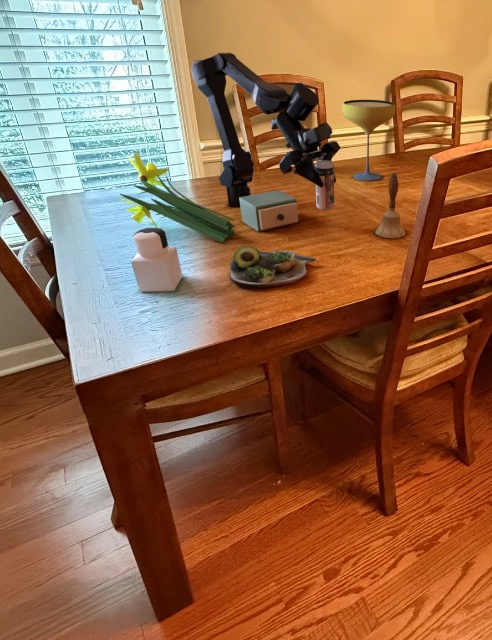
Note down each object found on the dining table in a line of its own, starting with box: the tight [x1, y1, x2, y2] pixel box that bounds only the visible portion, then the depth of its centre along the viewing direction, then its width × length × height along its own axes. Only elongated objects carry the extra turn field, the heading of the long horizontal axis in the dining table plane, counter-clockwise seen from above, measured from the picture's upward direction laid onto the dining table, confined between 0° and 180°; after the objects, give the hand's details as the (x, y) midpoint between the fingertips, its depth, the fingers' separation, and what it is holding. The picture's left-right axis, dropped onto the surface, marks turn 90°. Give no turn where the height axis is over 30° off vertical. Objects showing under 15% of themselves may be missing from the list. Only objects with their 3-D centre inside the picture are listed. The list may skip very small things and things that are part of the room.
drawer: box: [258, 202, 299, 230], centre depth 129 cm, size 10×11×5 cm
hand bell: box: [374, 172, 406, 240], centre depth 122 cm, size 8×8×16 cm
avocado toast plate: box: [229, 245, 317, 289], centre depth 105 cm, size 19×18×5 cm
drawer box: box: [239, 189, 299, 233], centre depth 130 cm, size 10×12×7 cm
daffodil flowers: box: [117, 150, 236, 244], centre depth 122 cm, size 17×15×35 cm
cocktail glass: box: [342, 99, 396, 182], centre depth 166 cm, size 18×18×25 cm
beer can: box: [314, 160, 335, 211], centre depth 122 cm, size 5×5×12 cm
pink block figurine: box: [130, 227, 183, 293], centre depth 96 cm, size 7×7×12 cm
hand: (328, 184), depth 121 cm, fingers closed on beer can, 5 cm apart
